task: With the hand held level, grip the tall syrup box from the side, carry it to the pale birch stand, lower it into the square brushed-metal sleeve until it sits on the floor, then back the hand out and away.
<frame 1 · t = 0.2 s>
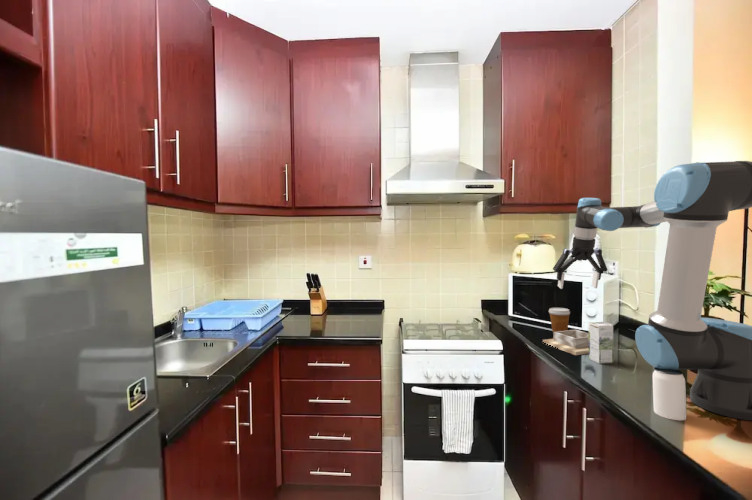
hand: (577, 287, 139), 27 cm above the counter, tool tilted 15°, fingers open, 13 cm apart
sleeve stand: (575, 346, 145), on the counter
can: (669, 417, 88), on the counter, touching arm
syrup box: (601, 361, 127), on the counter
disposable coffee cup: (559, 333, 167), on the counter
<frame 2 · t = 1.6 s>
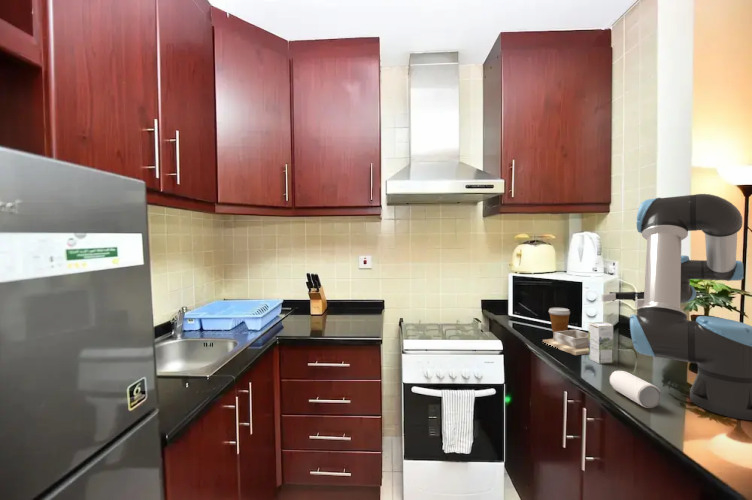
hand: (618, 300, 129), 22 cm above the counter, tool horizontal, fingers open, 13 cm apart
can: (651, 397, 90), point 3 cm above the counter
everything else where it was.
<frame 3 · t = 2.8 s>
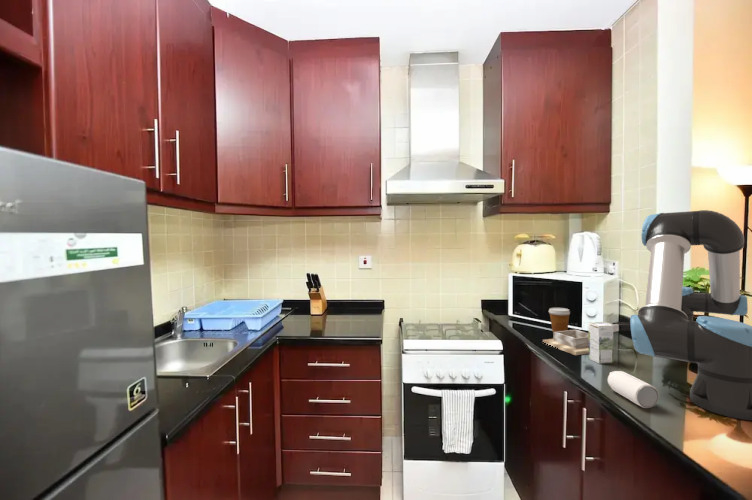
hand: (620, 333, 130), 10 cm above the counter, tool horizontal, fingers open, 13 cm apart
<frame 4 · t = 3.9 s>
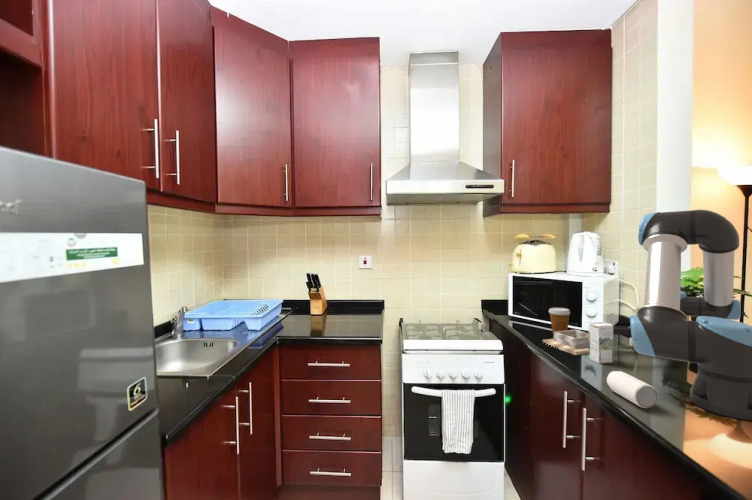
hand: (613, 337, 129), 8 cm above the counter, tool horizontal, fingers open, 13 cm apart
nothing on the counter moved.
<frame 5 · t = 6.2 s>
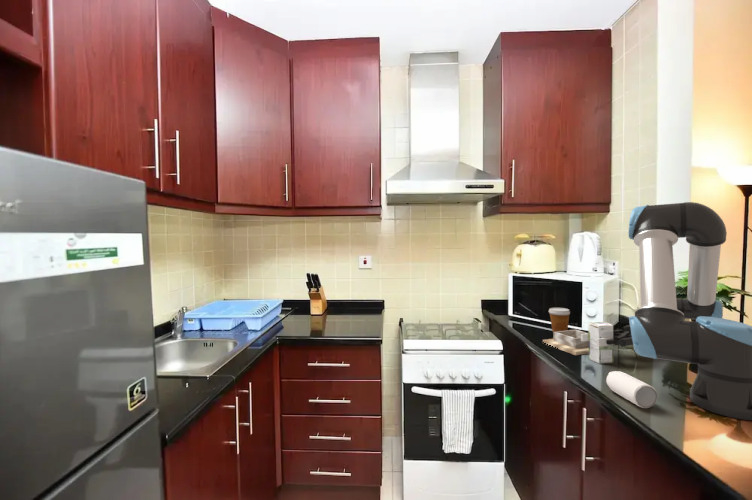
hand: (589, 340, 126), 9 cm above the counter, tool horizontal, fingers closed on syrup box, 6 cm apart
syrup box: (601, 361, 127), on the counter, touching gripper
everything else where it was.
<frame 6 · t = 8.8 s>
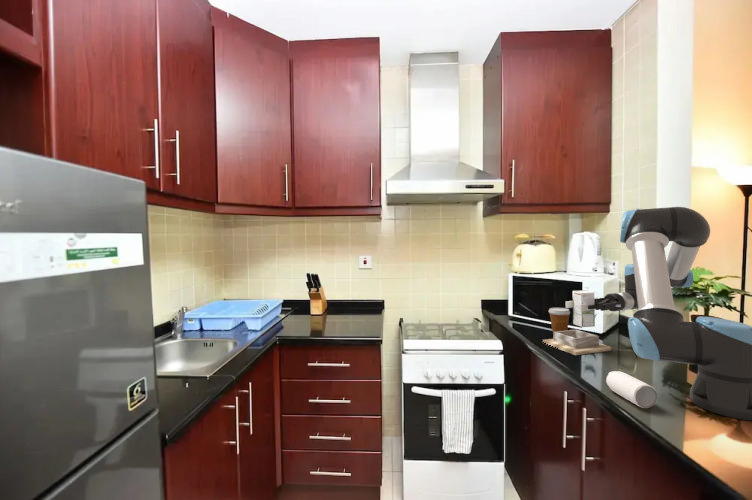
hand: (573, 306, 139), 19 cm above the counter, tool horizontal, fingers closed on syrup box, 6 cm apart
syrup box: (583, 326, 140), point 10 cm above the counter, touching gripper
everything else where it was.
when the fingers open (11 cm above the counter, at t = 11.2 s): syrup box drops 1 cm, resting on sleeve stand.
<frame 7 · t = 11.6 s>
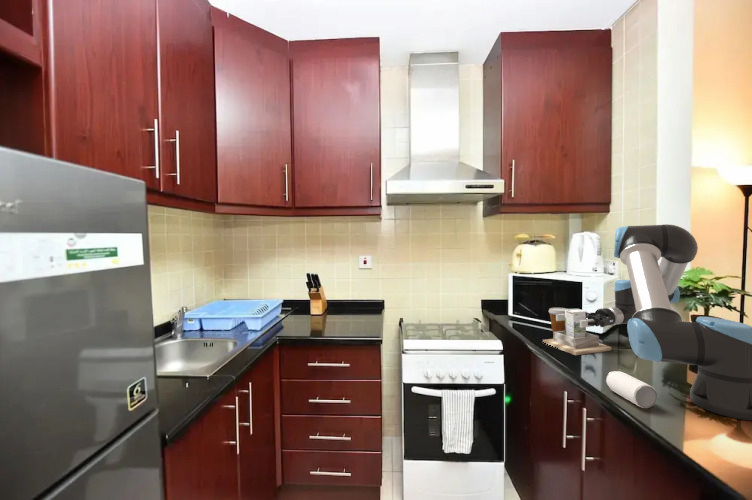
hand: (568, 320, 144), 11 cm above the counter, tool horizontal, fingers open, 12 cm apart
syrup box: (575, 343, 145), point 1 cm above the counter, touching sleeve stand
everything else where it was.
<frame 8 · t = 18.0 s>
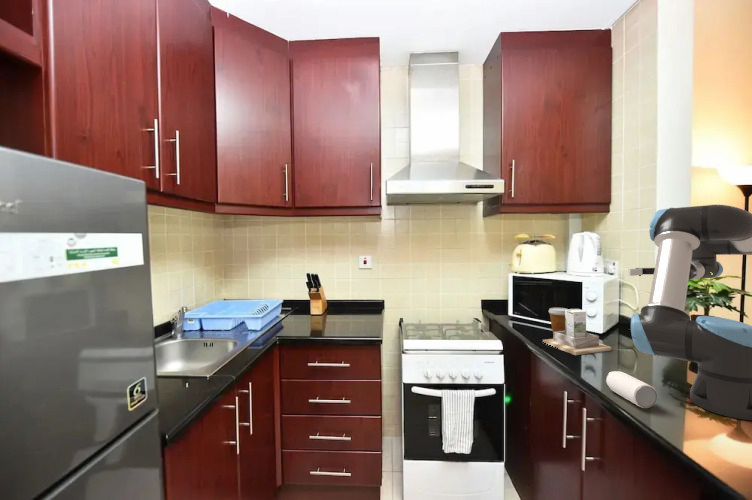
hand: (646, 273, 132), 32 cm above the counter, tool horizontal, fingers open, 13 cm apart
nothing on the counter moved.
at the end: syrup box 0.1 cm off-centre on the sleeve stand, point 1.3 cm above the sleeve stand's base; syrup box tilted 0°; the gripper is holding nothing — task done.
